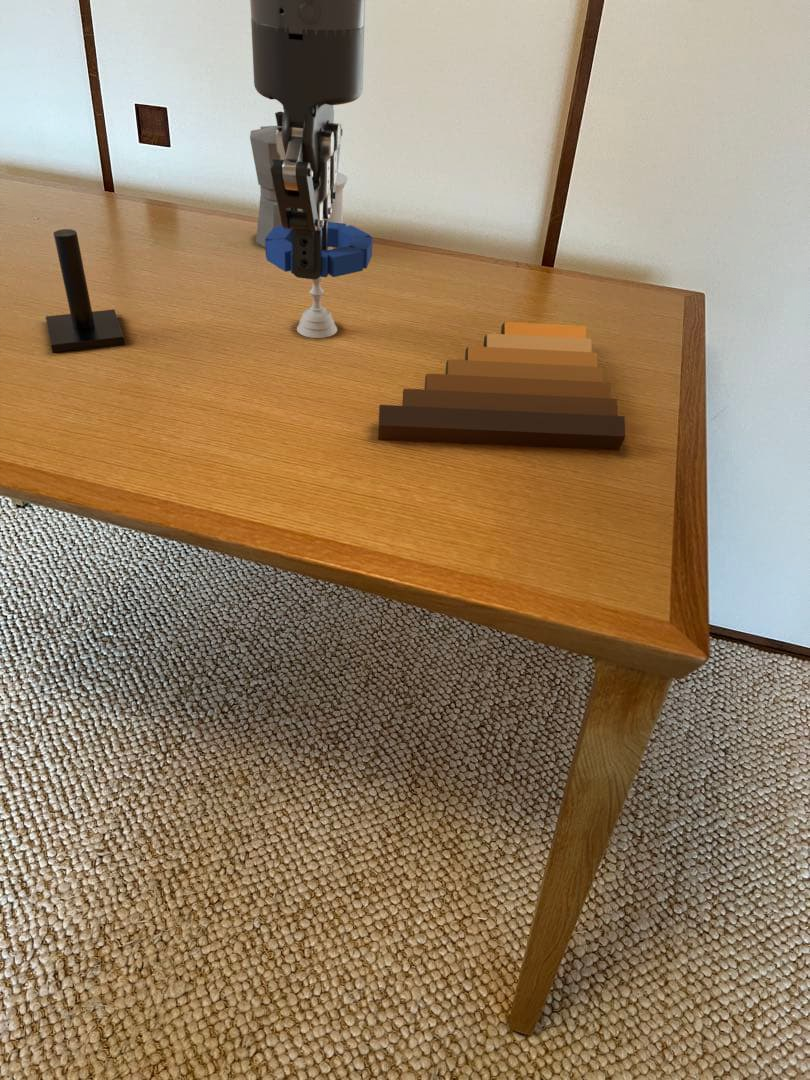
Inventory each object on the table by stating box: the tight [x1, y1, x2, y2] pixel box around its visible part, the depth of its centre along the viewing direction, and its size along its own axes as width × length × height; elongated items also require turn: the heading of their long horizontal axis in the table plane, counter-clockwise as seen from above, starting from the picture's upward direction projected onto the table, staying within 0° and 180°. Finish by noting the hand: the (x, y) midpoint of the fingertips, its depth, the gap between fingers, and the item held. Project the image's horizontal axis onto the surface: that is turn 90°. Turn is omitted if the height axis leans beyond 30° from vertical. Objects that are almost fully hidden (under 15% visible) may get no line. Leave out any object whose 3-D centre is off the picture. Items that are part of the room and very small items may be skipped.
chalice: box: [296, 171, 348, 339], centre depth 96 cm, size 7×7×18 cm
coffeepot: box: [249, 111, 284, 248], centre depth 119 cm, size 15×9×18 cm, turn 29°
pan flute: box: [377, 321, 626, 451], centre depth 92 cm, size 25×3×25 cm
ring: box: [264, 222, 374, 278], centre depth 67 cm, size 8×8×2 cm
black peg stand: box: [45, 228, 126, 354], centre depth 93 cm, size 8×8×12 cm
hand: (310, 271), depth 65 cm, fingers closed on ring, 1 cm apart
